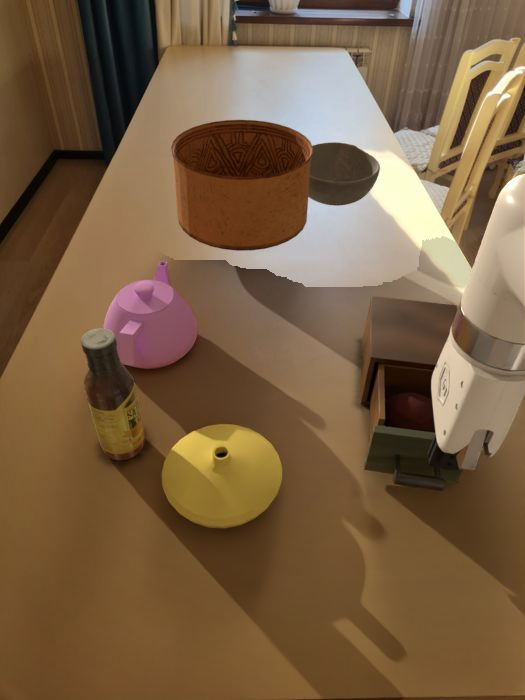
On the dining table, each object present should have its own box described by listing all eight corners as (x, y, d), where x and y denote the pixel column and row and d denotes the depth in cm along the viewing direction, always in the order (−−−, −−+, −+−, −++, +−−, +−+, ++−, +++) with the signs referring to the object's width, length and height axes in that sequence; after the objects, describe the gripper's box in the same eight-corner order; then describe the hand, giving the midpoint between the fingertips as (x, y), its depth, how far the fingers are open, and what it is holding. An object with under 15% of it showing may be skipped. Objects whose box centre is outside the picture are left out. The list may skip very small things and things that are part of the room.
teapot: (181, 394, 84) (174, 336, 76) (85, 383, 86) (68, 325, 77) (210, 307, 100) (207, 252, 92) (129, 299, 102) (119, 244, 93)
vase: (271, 548, 66) (273, 518, 61) (147, 526, 68) (139, 496, 63) (289, 446, 77) (291, 414, 73) (182, 429, 79) (178, 397, 74)
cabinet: (450, 415, 82) (468, 368, 75) (360, 404, 84) (370, 357, 77) (441, 351, 93) (457, 305, 86) (362, 342, 94) (371, 295, 87)
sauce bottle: (146, 460, 75) (124, 356, 62) (100, 465, 74) (68, 362, 61) (146, 423, 80) (125, 320, 66) (102, 428, 79) (73, 325, 66)
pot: (263, 286, 106) (265, 191, 92) (153, 244, 116) (141, 153, 102) (326, 226, 123) (337, 138, 109) (226, 194, 133) (224, 110, 120)
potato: (419, 462, 73) (429, 435, 69) (368, 430, 77) (375, 402, 73) (445, 431, 78) (456, 403, 73) (395, 401, 81) (403, 373, 77)
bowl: (275, 203, 131) (276, 163, 124) (318, 173, 143) (321, 135, 136) (349, 228, 122) (355, 187, 116) (387, 195, 135) (395, 155, 128)
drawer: (460, 511, 69) (479, 474, 64) (363, 497, 71) (373, 459, 65) (447, 407, 82) (462, 369, 77) (365, 397, 83) (373, 358, 78)
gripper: (445, 271, 49) (403, 403, 62) (465, 392, 38) (409, 521, 51) (531, 280, 48) (471, 412, 61) (575, 406, 38) (491, 534, 50)
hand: (443, 461), depth 56 cm, fingers closed
